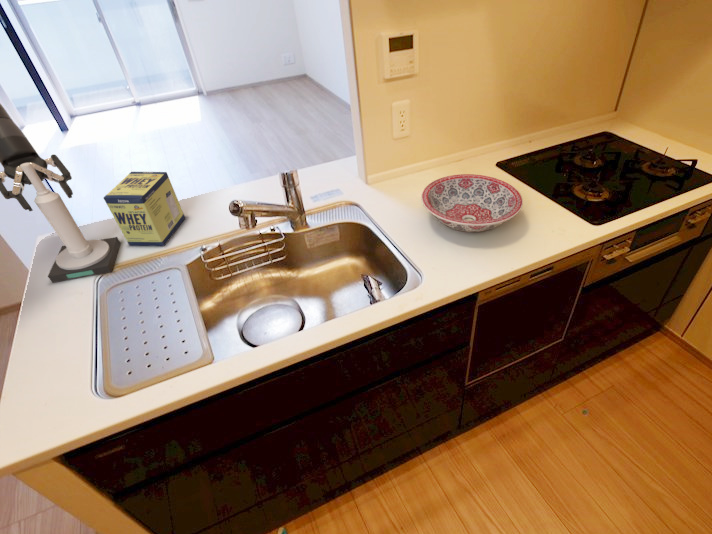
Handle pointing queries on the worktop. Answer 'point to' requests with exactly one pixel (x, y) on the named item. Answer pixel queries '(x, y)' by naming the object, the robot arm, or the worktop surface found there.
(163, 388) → the worktop surface
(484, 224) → the ceramic bowl
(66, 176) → the robot arm
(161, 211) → the protein box
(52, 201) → the bottle
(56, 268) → the scale
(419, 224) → the worktop surface
